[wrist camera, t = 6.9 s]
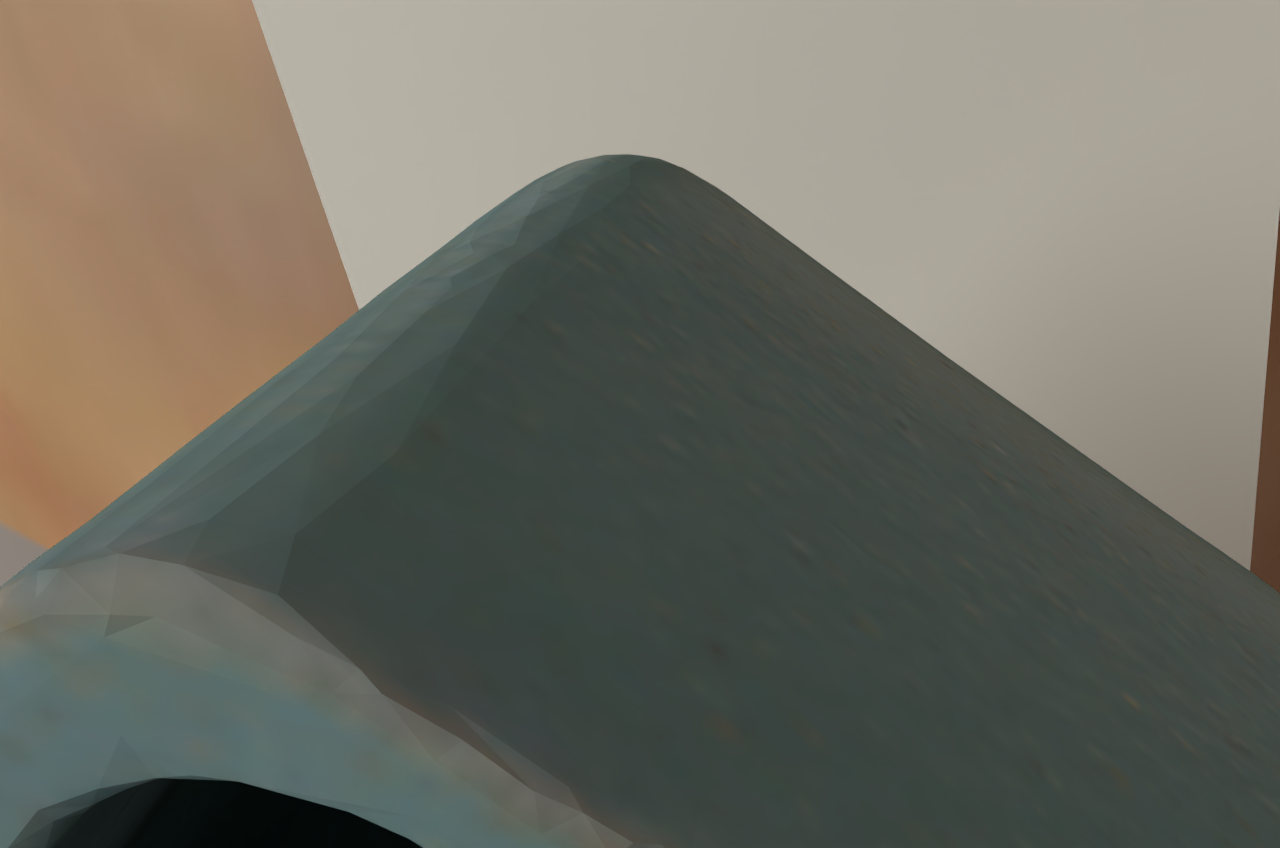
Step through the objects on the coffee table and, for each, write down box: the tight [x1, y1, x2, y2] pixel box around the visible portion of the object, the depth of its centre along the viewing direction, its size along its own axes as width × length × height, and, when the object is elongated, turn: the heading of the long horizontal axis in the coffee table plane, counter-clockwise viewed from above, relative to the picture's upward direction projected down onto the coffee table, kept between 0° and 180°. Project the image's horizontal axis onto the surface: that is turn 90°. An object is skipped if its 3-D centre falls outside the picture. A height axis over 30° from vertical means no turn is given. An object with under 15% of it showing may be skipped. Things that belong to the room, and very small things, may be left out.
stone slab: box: [252, 0, 1280, 571], centre depth 20 cm, size 14×14×6 cm
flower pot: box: [0, 154, 1280, 848], centre depth 9 cm, size 9×9×9 cm
